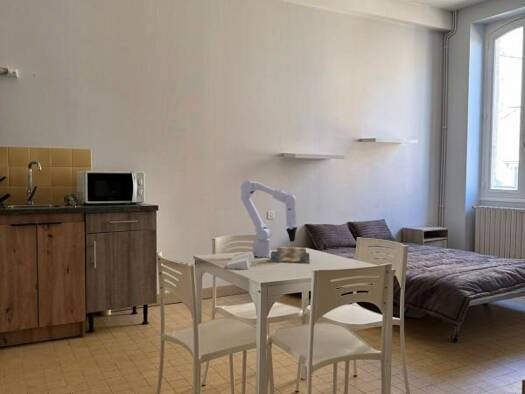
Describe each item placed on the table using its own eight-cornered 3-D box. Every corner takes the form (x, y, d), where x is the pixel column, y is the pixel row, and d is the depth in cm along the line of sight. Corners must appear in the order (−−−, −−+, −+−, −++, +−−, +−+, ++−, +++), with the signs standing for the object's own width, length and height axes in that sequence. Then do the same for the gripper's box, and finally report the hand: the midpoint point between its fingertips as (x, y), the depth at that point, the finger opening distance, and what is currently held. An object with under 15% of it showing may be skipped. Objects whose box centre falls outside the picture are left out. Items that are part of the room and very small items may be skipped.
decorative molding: (228, 274, 246) (248, 270, 246) (226, 265, 246) (246, 260, 246) (237, 263, 280) (254, 259, 280) (234, 255, 280) (252, 250, 280)
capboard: (269, 261, 270) (269, 253, 270) (271, 258, 281) (271, 250, 281) (309, 263, 267) (309, 254, 267) (310, 260, 278) (310, 252, 278)
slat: (276, 258, 285) (277, 247, 285) (277, 257, 287) (277, 246, 287) (305, 259, 283) (305, 248, 283) (305, 258, 285) (306, 248, 285)
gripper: (297, 216, 277) (299, 241, 277) (299, 215, 291) (300, 239, 292) (284, 217, 278) (286, 242, 278) (286, 216, 292) (287, 239, 292)
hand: (292, 240), depth 285 cm, fingers open, 7 cm apart
